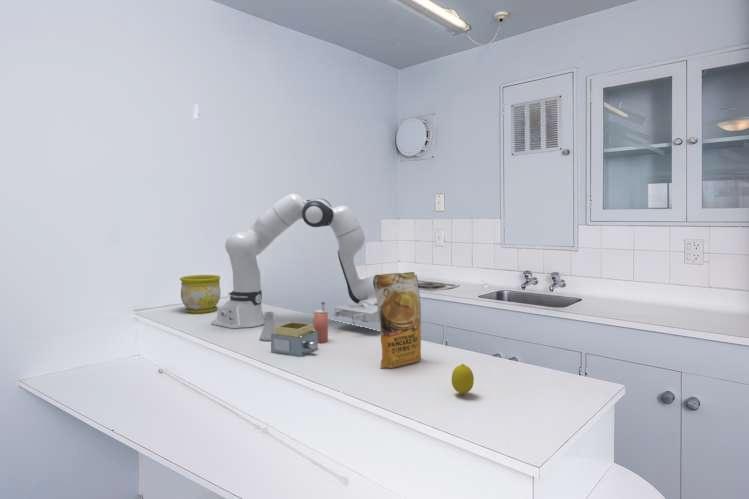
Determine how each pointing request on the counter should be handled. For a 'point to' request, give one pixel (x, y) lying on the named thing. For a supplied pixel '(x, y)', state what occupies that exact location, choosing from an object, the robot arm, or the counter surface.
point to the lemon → (462, 379)
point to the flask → (268, 327)
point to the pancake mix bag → (399, 318)
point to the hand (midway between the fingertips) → (343, 316)
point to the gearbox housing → (294, 339)
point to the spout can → (321, 324)
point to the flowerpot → (200, 293)
